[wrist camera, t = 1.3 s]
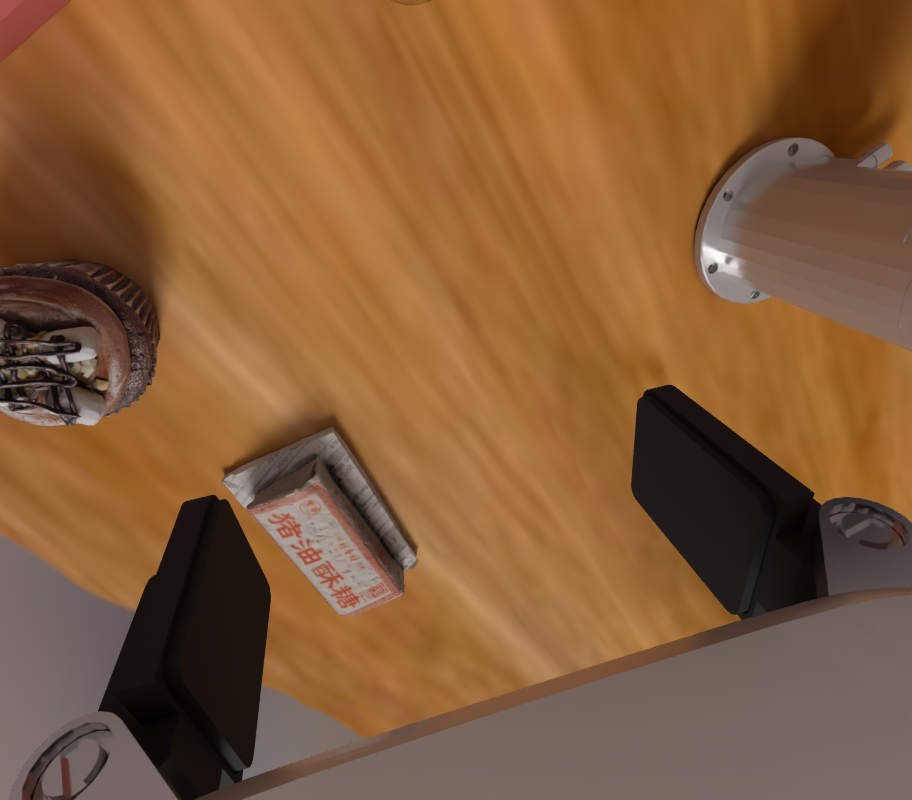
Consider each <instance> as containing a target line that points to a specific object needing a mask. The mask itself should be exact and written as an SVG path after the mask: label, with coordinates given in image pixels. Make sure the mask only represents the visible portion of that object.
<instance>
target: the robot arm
mask: <svg viewBox="0 0 912 800" xmlns="http://www.w3.org/2000/svg"><path fill="white" fill-rule="evenodd" d="M892 153H893V150H892V147H891V146H890V145H889V144H888V143H885V142H881V143H878V144H877V145H875V146H874V147H872V148H871V149H869V150H868V151H866V152H865V153H864V154H863V155H862V156H861V157H859V158H858V159H848V158H836V157H835V156H834V154H833V153H832V151H831V150H829V149H828V148H827V147H826V146H825V145H824V144H822V143H820V142H818V141H815V140H813V139H808V138H800V137H789V138H780V139H776V140H772V141H768V142H766V143H764V144H762V145H760V146H758V147H756V148H754V149H753V150H751V151H750V152H748V153H747V154H746V155H744V156H743V157H741V158H740V159H739V160H738V161H737V162H736V163H735V164H734V165H733V166H732V167H731V168H730V169H729V170H728V171H727V172H726V173H725V174H724V176H723V177H722V178H721V179H720V181H719V182H718V183H717V184H716V186H715V188H714V189H713V191H712V193H711V194H710V196H709V198H708V199H707V201H706V204H705V206H704V208H703V211H702V213H701V215H700V218H699V222H698V226H697V229H696V234H695V243H694V256H695V264H696V268H697V271H698V274H699V276H700V278H701V280H702V282H703V283H704V285H705V286H706V287H707V288H708V289H709V290H710V291H711V292H712V293H714V294H716V295H717V296H719V297H721V298H723V299H726V300H729V301H731V302H736V303H755V302H758V301H762V300H765V299H768V298H770V297H775V298H777V299H780V300H782V301H785V302H787V303H790V304H792V305H795V306H797V307H800V308H802V309H805V310H808V311H810V312H813V313H815V314H818V315H820V316H823V317H825V318H828V319H830V320H833V321H836V322H838V323H841V324H843V325H846V326H848V327H851V328H853V329H856V330H858V331H861V332H863V333H866V334H869V335H871V336H874V337H876V338H879V339H881V340H884V341H886V342H889V343H891V344H894V345H896V346H899V347H902V348H904V349H907V350H909V351H912V168H911V166H910V165H909V164H908V163H907V162H905V161H901V160H897V161H893V162H892V163H890V164H889V165H887V166H886V167H885V168H883V169H882V168H876V167H877V166H879V165H880V164H882V163H883V162H885V161H886V160H887V159H889V158H890V157H891V156H892ZM631 488H632V492H633V495H634V497H635V499H636V500H637V501H638V503H639V504H640V505H641V506H642V508H643V509H644V510H645V511H646V512H647V514H648V515H649V516H650V517H651V519H652V520H653V521H654V522H655V523H656V525H657V526H658V527H659V528H660V530H661V531H662V532H663V533H664V534H665V536H666V537H667V538H668V539H669V541H670V542H671V543H672V544H673V545H674V547H675V548H676V549H677V550H678V552H679V553H680V554H681V555H682V556H683V558H684V559H685V560H686V561H687V562H688V564H689V565H690V566H691V567H692V569H693V570H694V571H695V572H696V573H697V575H698V576H699V577H700V578H701V580H702V581H703V582H704V583H705V584H706V586H707V587H708V588H709V589H710V591H711V592H712V593H713V594H714V595H715V597H716V598H717V599H718V600H719V602H720V603H721V604H722V605H723V606H724V608H725V609H726V610H727V611H728V612H730V613H731V614H734V615H735V614H737V615H738V616H739V617H740V618H741V619H742V620H740V621H737V622H733V623H730V624H727V625H724V626H721V627H717V628H714V629H711V630H708V631H704V632H701V633H698V634H695V635H692V636H688V637H685V638H682V639H679V640H675V641H672V642H669V643H666V644H663V645H659V646H656V647H653V648H650V649H646V650H643V651H640V652H637V653H634V654H630V655H627V656H624V657H621V658H617V659H614V660H611V661H608V662H605V663H602V664H598V665H595V666H592V667H589V668H586V669H583V670H579V671H576V672H573V673H570V674H567V675H564V676H560V677H557V678H554V679H551V680H548V681H545V682H541V683H538V684H535V685H532V686H529V687H526V688H523V689H519V690H516V691H513V692H510V693H507V694H504V695H501V696H497V697H494V698H491V699H488V700H485V701H482V702H478V703H475V704H472V705H469V706H466V707H463V708H460V709H457V710H454V711H450V712H447V713H444V714H441V715H438V716H435V717H432V718H429V719H426V720H422V721H419V722H416V723H413V724H410V725H407V726H404V727H401V728H398V729H395V730H391V731H388V732H385V733H382V734H379V735H376V736H373V737H370V738H367V739H364V740H361V741H358V742H354V743H351V744H348V745H345V746H342V747H339V748H336V749H333V750H330V751H327V752H324V753H321V754H318V755H316V756H313V757H310V758H306V759H303V760H301V761H298V762H295V763H292V764H289V765H286V766H283V767H280V768H277V769H274V770H271V771H268V772H265V773H263V774H260V775H257V776H254V777H251V778H248V779H245V780H243V781H242V775H243V769H246V768H249V767H250V766H251V764H252V761H253V755H254V747H255V738H256V729H257V720H258V711H259V702H260V693H261V684H262V675H263V666H264V657H265V647H266V638H267V629H268V620H269V611H270V602H271V593H270V587H269V584H268V581H267V579H266V577H265V575H264V573H263V571H262V569H261V567H260V565H259V563H258V561H257V559H256V557H255V555H254V553H253V551H252V549H251V547H250V545H249V542H248V540H247V538H246V536H245V534H244V532H243V530H242V528H241V526H240V524H239V522H238V520H237V518H236V516H235V514H234V512H233V510H232V508H231V506H230V504H229V502H228V501H227V500H226V499H223V500H219V499H218V498H217V497H216V496H215V495H210V496H206V497H202V498H197V499H193V500H189V501H186V502H184V503H183V504H182V506H181V509H180V511H179V514H178V517H177V520H176V522H175V525H174V528H173V530H172V533H171V536H170V539H169V541H168V544H167V547H166V549H165V552H164V555H163V558H162V560H161V563H160V566H159V569H158V571H157V574H156V575H154V576H153V577H151V578H150V579H149V581H148V583H147V584H146V586H145V589H144V592H143V594H142V597H141V599H140V602H139V605H138V607H137V610H136V613H135V615H134V618H133V620H132V623H131V626H130V629H129V631H128V634H127V636H126V639H125V641H124V644H123V647H122V649H121V652H120V655H119V657H118V660H117V663H116V665H115V668H114V670H113V673H112V676H111V678H110V681H109V683H108V686H107V689H106V691H105V694H104V697H103V699H102V702H101V704H100V707H99V710H98V712H94V713H90V714H85V715H83V716H81V717H79V718H77V719H75V720H73V721H70V722H69V723H67V724H66V725H64V726H63V727H62V728H60V729H59V730H57V731H56V732H54V733H53V734H52V735H51V736H50V737H48V738H47V739H46V740H45V741H44V742H43V743H42V744H41V745H40V746H39V747H38V748H37V749H36V750H35V751H34V753H33V754H32V755H31V756H30V758H29V759H28V760H27V762H26V763H25V764H24V765H23V767H22V768H21V770H20V773H19V774H18V776H17V778H16V780H15V782H14V784H13V786H12V789H11V793H10V797H9V800H912V523H911V522H910V521H909V520H908V519H907V518H906V517H904V516H903V515H901V514H900V513H898V512H896V511H895V510H893V509H891V508H889V507H887V506H884V505H882V504H880V503H877V502H873V501H870V500H866V499H862V498H852V497H842V498H834V499H832V500H829V501H826V502H825V503H824V504H823V505H821V504H819V503H818V502H817V501H816V500H814V499H813V496H814V492H812V491H811V490H810V489H808V488H807V487H806V486H804V485H803V484H802V483H801V482H799V481H798V480H797V479H795V478H794V477H793V476H791V475H790V474H789V473H787V472H786V471H785V470H783V469H782V468H781V467H780V466H778V465H777V464H776V463H774V462H773V461H772V460H770V459H769V458H768V457H766V456H765V455H764V454H763V453H761V452H760V451H759V450H757V449H756V448H755V447H753V446H752V445H751V444H749V443H748V442H747V441H745V440H744V439H743V438H742V437H740V436H739V435H738V434H736V433H735V432H734V431H732V430H731V429H730V428H728V427H727V426H726V425H724V424H723V423H722V422H721V421H719V420H718V419H717V418H715V417H714V416H713V415H711V414H710V413H709V412H707V411H706V410H705V409H704V408H702V407H701V406H700V405H698V404H697V403H696V402H694V401H693V400H692V399H690V398H689V397H688V396H686V395H685V394H684V393H683V392H681V391H680V390H679V389H677V388H676V387H675V386H673V385H665V386H661V387H657V388H653V389H649V390H646V391H645V392H644V394H643V397H642V398H640V399H639V400H638V403H637V414H636V427H635V441H634V455H633V468H632V482H631Z"/></svg>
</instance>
